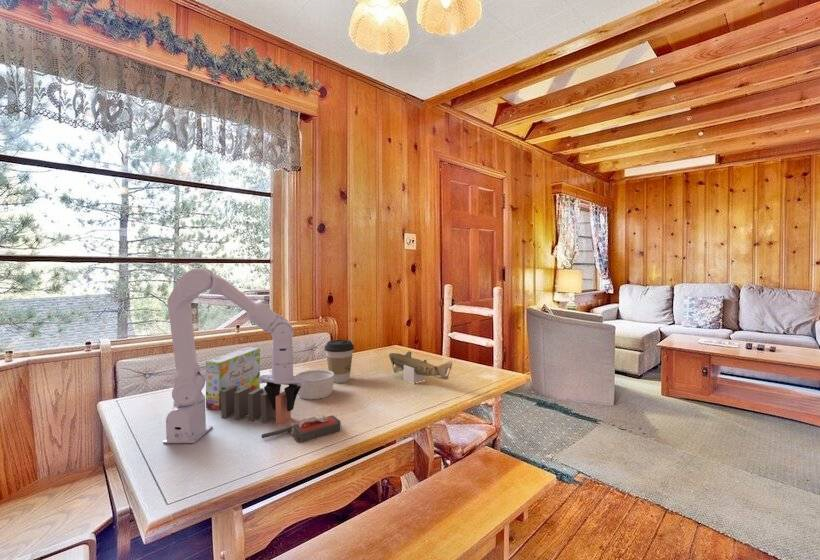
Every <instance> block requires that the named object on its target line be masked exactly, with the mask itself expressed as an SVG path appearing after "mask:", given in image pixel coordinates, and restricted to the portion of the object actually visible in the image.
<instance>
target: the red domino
mask: <svg viewBox="0 0 820 560" xmlns="http://www.w3.org/2000/svg"><path fill="white" fill-rule="evenodd" d="M291 411H292V410H291ZM291 411H287V399H286V394H285V391H284V390H283V392H282V391H281V392H280V394H279V395H277V396H276V417H275V425H280V426H282V425H283V424H284V423H286V422H287V421H289V420H290V419H291V418H292V415H291V414H292V413H291Z"/></svg>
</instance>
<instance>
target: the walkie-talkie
mask: <svg viewBox="0 0 820 560" xmlns="http://www.w3.org/2000/svg"><path fill="white" fill-rule="evenodd" d="M340 430H341V420H340V419H339V418H338V417H336V416H335V415H334V414H333V415H328V416H327V415H323V416H322V417H320V418H318V417H316V416H312V417H309V418H305V419H301V420H300V421H297V422H293V423H292V422H291V423H290V426H287V427H285V428H281V429H277V430H274V431H269V432H266V433H263V434H261V435H260V436H261V438H262V439H266V438H269V437H274V436H277V435H281V434H284V433H290V435H291V436H293V438H294V439H293V440H294V441H296V442H297V441H298V442H299V443H300V444H303V443H306V442H309V441H313V440H316V439H319V438H323V437H325V436H329V435H333V434H337V432H338V433H339V431H340ZM340 432H341V431H340Z"/></svg>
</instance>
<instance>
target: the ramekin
mask: <svg viewBox="0 0 820 560" xmlns="http://www.w3.org/2000/svg"><path fill="white" fill-rule="evenodd" d="M294 376H297V377H301V378H307V386H305V387H301V388H300V390H299V392H298V394H297V396H299V398H301V399H303V400H311V401H312V399H314V400H320V398H321V399H324V398H326V397H329V396H331V394H332V393H333V389H334V388H333V387H334V386H333V385H334V383H333V379H334V373H333V372H332V371H329V370H327V369H310V370H309V369H308V370H304V371H300V372H298V373H296V374H295V375H294Z"/></svg>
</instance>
